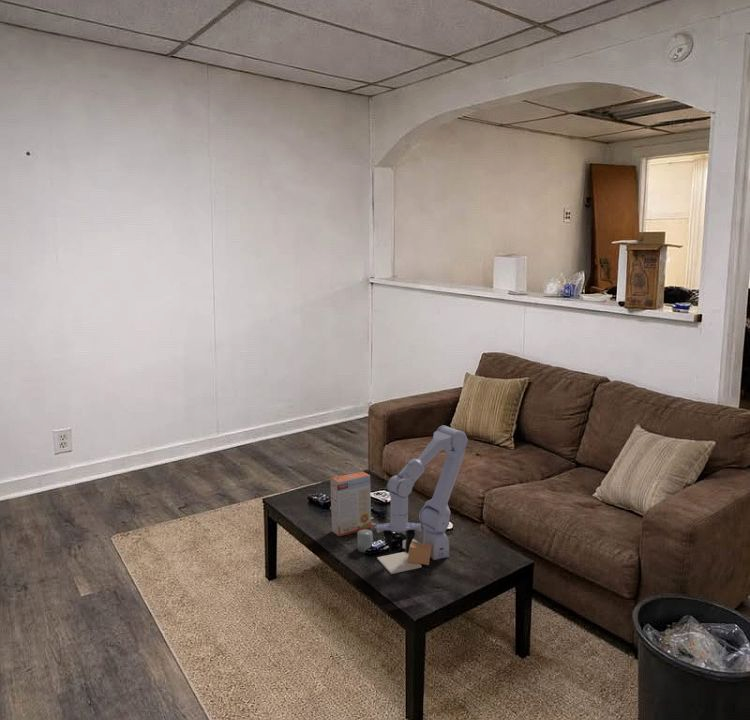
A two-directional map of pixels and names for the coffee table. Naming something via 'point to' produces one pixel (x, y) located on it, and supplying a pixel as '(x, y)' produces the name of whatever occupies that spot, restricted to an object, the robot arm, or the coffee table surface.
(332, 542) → the coffee table surface
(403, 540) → the metal tin
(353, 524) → the cracker box
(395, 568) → the ceramic tile
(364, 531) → the grey rounded capsule
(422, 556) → the terracotta block
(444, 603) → the coffee table surface
